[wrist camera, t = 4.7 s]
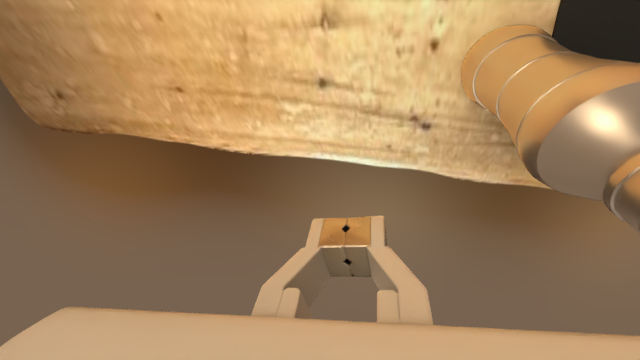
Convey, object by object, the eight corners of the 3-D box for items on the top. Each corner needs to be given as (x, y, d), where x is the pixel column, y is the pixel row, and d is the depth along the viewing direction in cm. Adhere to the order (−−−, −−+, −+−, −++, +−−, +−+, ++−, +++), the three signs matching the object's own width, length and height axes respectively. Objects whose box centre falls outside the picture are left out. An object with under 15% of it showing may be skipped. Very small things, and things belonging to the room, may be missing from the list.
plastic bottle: (517, 100, 26) (745, 290, 10) (444, 93, 27) (549, 262, 11) (555, 23, 22) (1026, 134, 6) (468, 18, 23) (689, 106, 7)
